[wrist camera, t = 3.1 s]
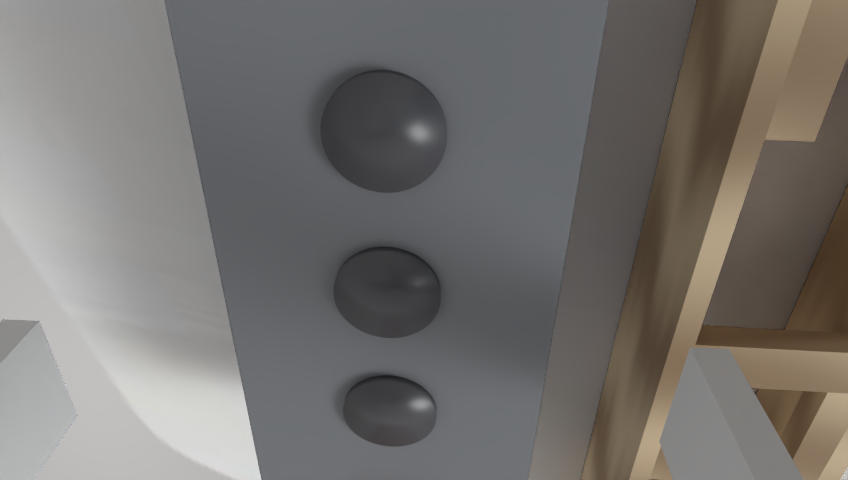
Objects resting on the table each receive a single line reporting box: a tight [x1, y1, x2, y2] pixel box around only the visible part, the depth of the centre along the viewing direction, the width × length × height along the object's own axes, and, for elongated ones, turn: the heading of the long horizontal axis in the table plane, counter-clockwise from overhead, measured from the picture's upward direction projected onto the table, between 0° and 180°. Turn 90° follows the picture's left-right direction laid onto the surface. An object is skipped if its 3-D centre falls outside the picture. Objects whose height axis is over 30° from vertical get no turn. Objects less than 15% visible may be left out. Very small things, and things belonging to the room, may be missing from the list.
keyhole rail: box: [581, 0, 848, 480], centre depth 17 cm, size 25×6×4 cm, turn 179°
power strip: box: [165, 0, 609, 480], centre depth 16 cm, size 17×7×7 cm, turn 179°
